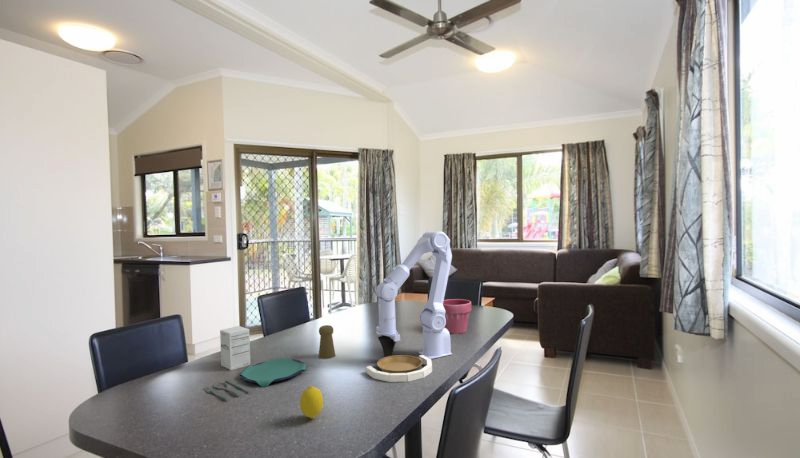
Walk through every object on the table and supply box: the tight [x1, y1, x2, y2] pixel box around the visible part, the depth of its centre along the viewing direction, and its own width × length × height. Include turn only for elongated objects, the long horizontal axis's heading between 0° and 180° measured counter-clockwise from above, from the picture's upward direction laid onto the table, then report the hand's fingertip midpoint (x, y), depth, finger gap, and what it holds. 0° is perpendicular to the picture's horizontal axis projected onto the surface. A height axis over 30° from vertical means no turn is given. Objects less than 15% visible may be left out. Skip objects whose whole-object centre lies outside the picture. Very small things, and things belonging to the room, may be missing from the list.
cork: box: [318, 325, 336, 360], centre depth 147 cm, size 6×6×11 cm
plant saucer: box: [376, 354, 423, 373], centre depth 132 cm, size 15×15×3 cm
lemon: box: [299, 385, 324, 419], centre depth 100 cm, size 6×6×8 cm
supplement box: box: [219, 325, 251, 371], centre depth 140 cm, size 7×7×13 cm
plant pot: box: [443, 298, 472, 335], centre depth 175 cm, size 14×14×13 cm
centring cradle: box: [365, 354, 433, 383], centre depth 128 cm, size 21×13×2 cm, turn 118°
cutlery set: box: [202, 357, 308, 402], centre depth 127 cm, size 20×30×2 cm, turn 138°
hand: (388, 357), depth 139 cm, fingers closed
